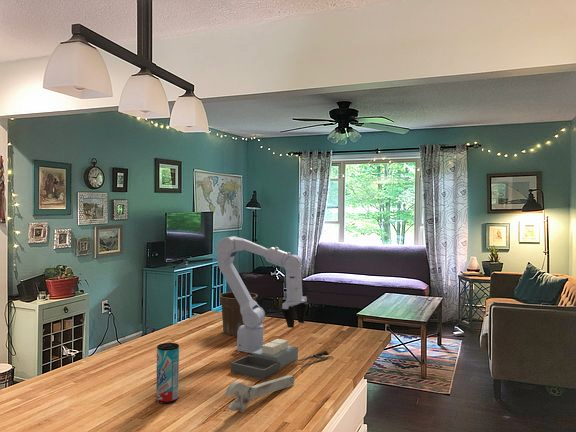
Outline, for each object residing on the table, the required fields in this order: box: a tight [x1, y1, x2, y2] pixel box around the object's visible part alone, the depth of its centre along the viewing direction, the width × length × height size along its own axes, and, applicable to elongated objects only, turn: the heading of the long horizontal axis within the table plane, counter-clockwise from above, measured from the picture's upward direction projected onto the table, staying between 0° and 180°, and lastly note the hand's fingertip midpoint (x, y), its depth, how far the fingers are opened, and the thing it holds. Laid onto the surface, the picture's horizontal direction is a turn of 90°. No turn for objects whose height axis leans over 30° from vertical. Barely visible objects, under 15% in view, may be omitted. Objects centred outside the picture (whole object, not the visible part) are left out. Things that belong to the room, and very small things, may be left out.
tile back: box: [270, 338, 289, 351], centre depth 165 cm, size 4×4×2 cm
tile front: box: [262, 341, 280, 355], centre depth 160 cm, size 4×4×2 cm
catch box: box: [230, 354, 281, 381], centre depth 152 cm, size 13×10×3 cm
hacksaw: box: [297, 350, 335, 374], centre depth 162 cm, size 24×10×2 cm, turn 132°
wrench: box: [224, 374, 295, 413], centre depth 131 cm, size 8×2×30 cm
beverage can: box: [155, 342, 180, 404], centre depth 129 cm, size 6×6×15 cm
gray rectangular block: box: [251, 345, 299, 369], centre depth 163 cm, size 10×14×4 cm
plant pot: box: [218, 291, 259, 337], centre depth 200 cm, size 16×16×16 cm
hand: (296, 324), depth 171 cm, fingers open, 7 cm apart
